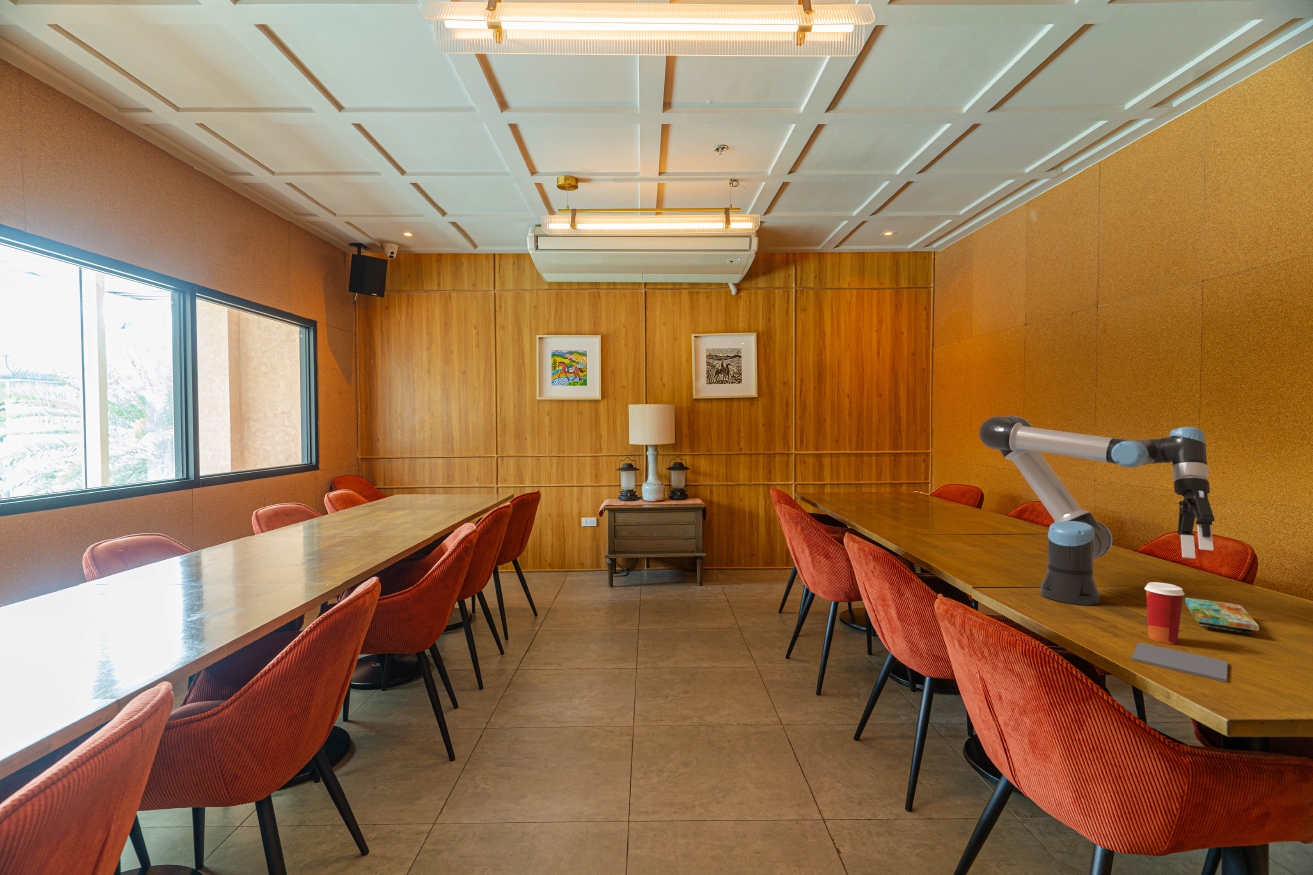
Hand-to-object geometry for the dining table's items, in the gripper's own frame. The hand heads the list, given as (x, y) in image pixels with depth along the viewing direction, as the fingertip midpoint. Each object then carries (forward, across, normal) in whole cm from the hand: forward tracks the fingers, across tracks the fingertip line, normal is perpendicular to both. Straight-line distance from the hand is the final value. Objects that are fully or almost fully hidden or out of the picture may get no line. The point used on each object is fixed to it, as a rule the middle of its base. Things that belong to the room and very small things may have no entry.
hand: (1197, 554), depth 161 cm
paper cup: (+26, -13, +12) cm, 31 cm away
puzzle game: (+18, +8, -6) cm, 20 cm away
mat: (+31, -27, +13) cm, 43 cm away
